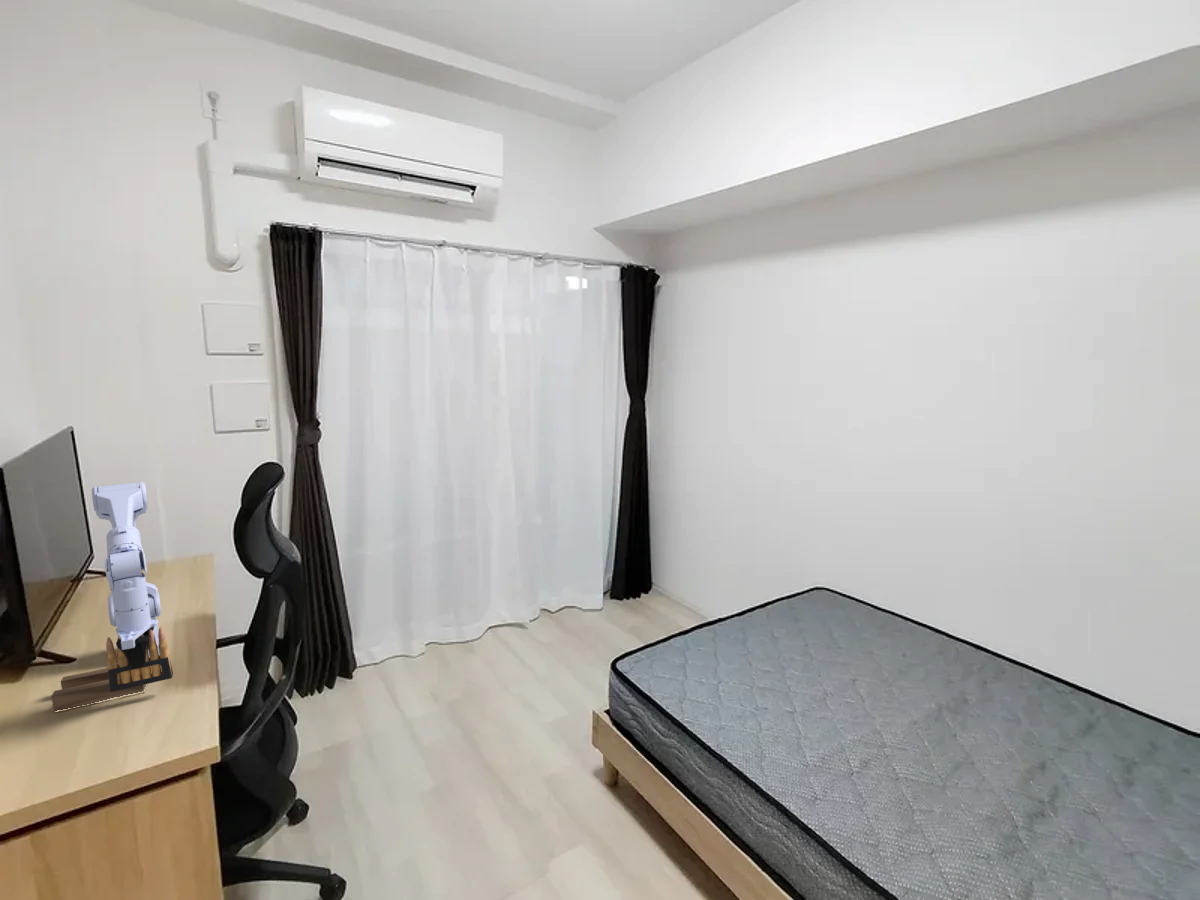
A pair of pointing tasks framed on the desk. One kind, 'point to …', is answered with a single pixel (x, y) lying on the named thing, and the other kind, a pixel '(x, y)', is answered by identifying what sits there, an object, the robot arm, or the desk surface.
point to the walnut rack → (87, 689)
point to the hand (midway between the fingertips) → (139, 664)
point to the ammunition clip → (146, 677)
